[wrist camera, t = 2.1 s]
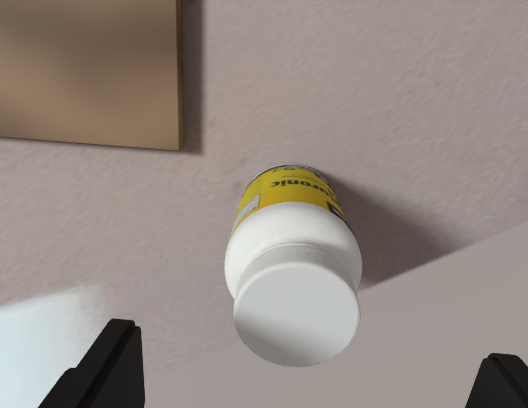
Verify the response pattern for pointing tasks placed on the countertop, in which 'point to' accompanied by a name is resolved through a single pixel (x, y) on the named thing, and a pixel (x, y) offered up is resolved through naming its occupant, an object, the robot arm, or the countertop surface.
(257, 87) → the countertop surface
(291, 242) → the supplement bottle
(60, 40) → the walnut board
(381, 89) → the countertop surface
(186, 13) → the countertop surface
